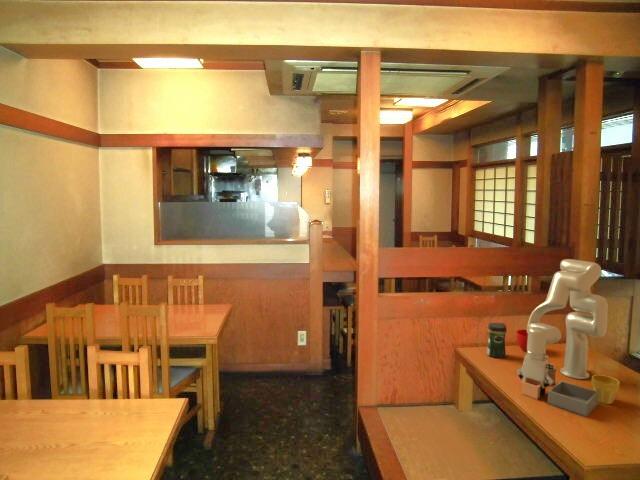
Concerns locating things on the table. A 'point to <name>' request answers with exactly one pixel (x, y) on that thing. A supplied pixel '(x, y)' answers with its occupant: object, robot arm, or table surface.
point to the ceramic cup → (522, 339)
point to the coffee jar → (496, 340)
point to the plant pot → (605, 388)
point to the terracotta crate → (531, 388)
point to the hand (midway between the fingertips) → (533, 392)
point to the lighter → (551, 373)
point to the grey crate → (573, 398)
